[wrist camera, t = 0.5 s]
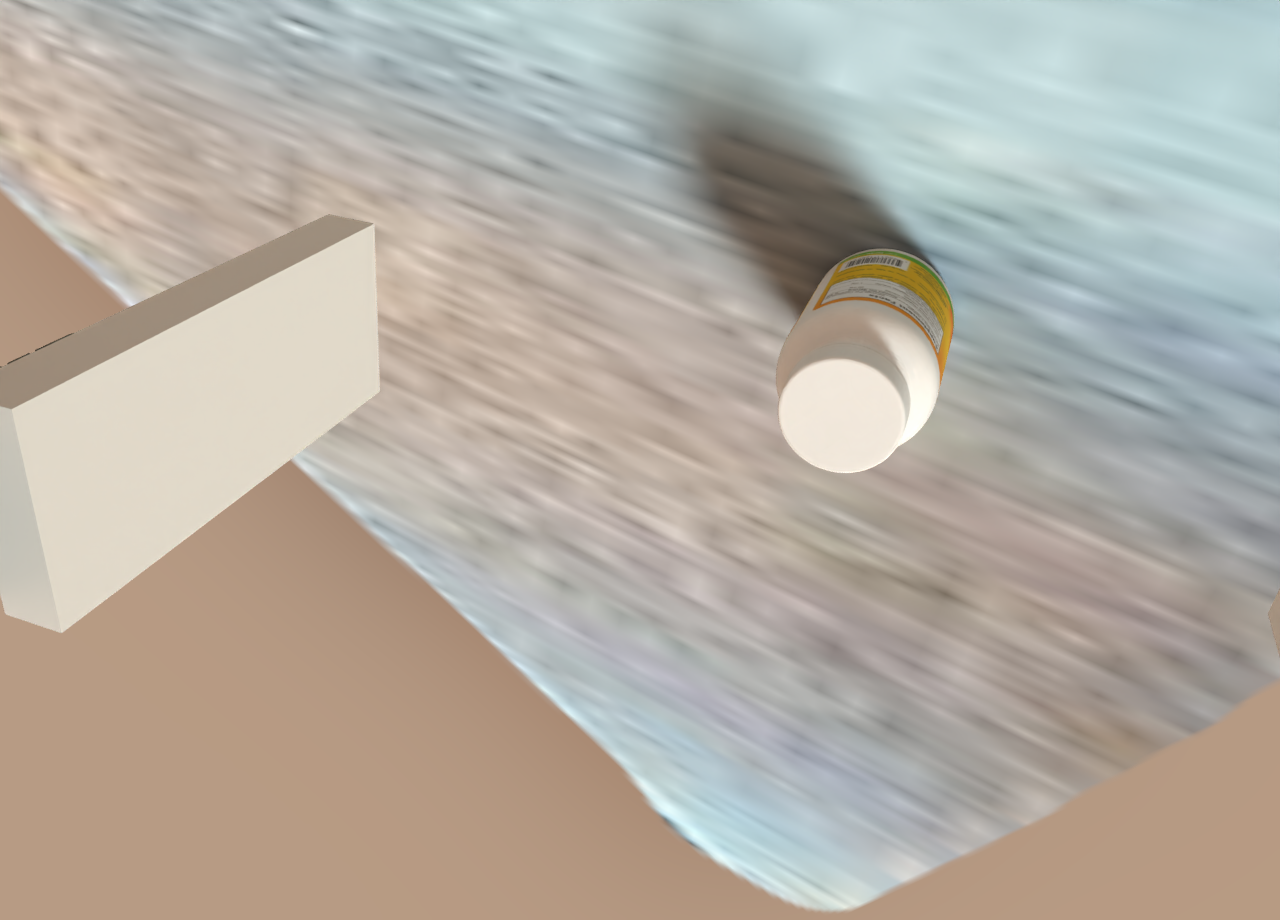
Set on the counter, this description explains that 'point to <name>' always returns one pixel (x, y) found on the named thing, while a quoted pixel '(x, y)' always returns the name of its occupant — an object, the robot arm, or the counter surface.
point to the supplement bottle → (864, 360)
